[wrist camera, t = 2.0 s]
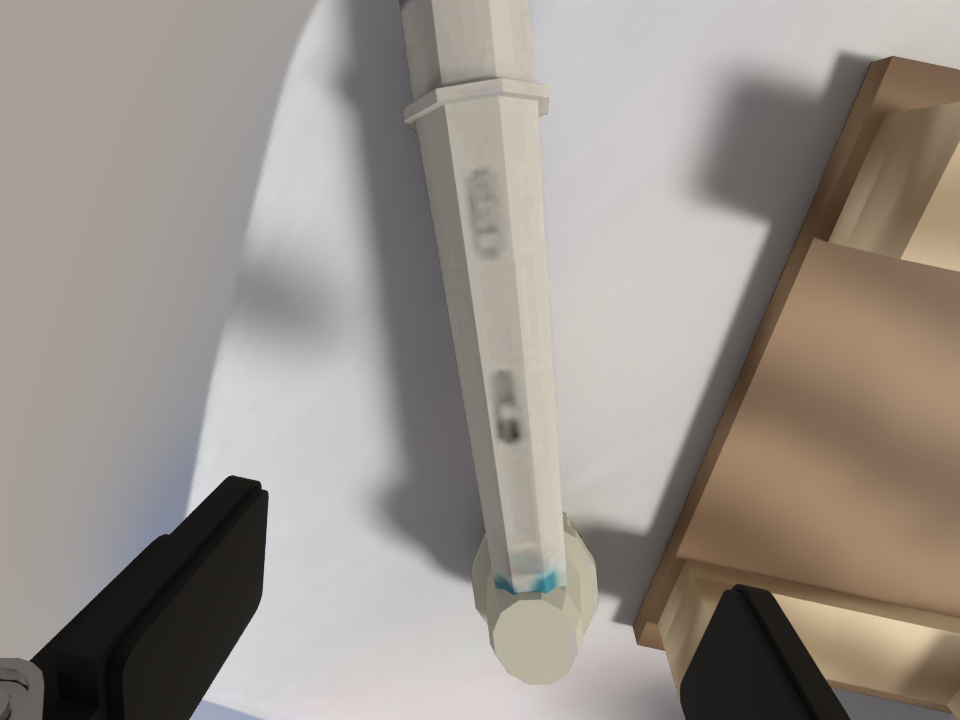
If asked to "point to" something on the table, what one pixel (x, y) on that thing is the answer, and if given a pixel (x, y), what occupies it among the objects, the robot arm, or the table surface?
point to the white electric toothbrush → (500, 317)
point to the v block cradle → (847, 420)
